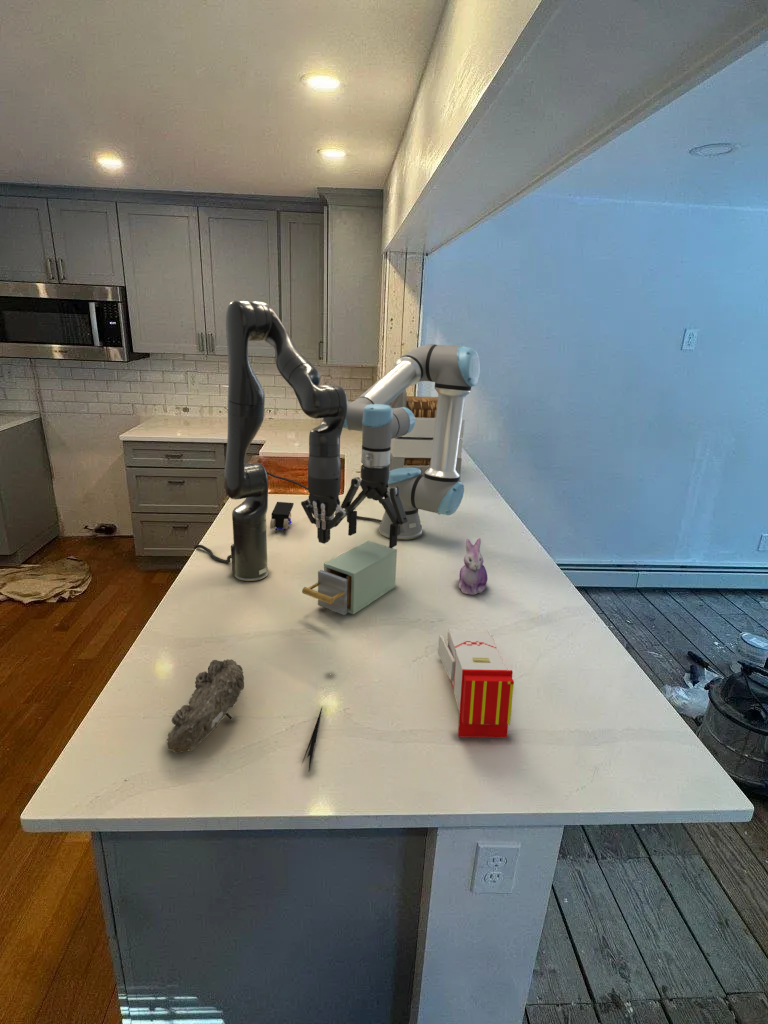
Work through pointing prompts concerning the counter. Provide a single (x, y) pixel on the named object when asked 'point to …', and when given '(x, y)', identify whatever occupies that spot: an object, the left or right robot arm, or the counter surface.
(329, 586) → the drawer
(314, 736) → the feather
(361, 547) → the cabinet
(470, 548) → the figurine
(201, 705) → the fossil
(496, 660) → the toy
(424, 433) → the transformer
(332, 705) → the counter surface
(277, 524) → the figurine character
